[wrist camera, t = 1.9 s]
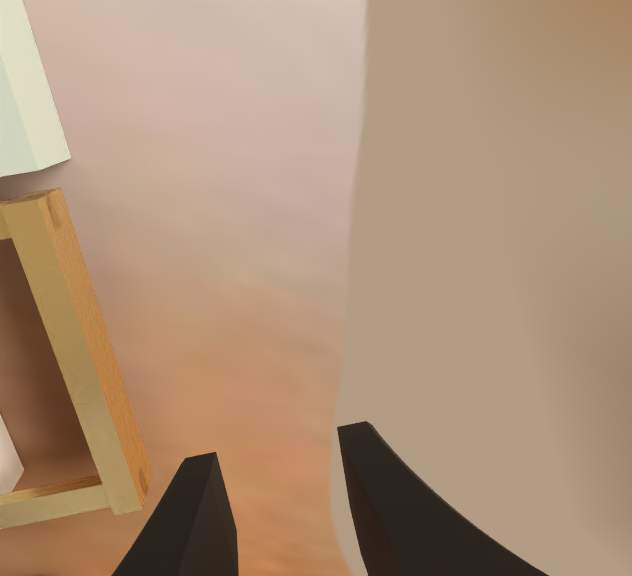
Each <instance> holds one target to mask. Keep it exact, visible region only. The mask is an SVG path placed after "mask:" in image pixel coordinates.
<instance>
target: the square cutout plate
mask: <svg viewBox="0 0 632 576" xmlns="http://www.w3.org/2000/svg"><path fill="white" fill-rule="evenodd" d="M68 159H71V156H70V153H69V149H68V146H67V143H66V140H65V137H64V133H63V130H62V127H61V124H60V120H59V117H58V114H57V111H56V107H55V104H54V101H53V98H52V94H51V91H50V88H49V85H48V81H47V78H46V75H45V72H44V69H43V65H42V62H41V59H40V56H39V52H38V49H37V46H36V43H35V39H34V36H33V33H32V30H31V26H30V23H29V20H28V17H27V13H26V10H25V7H24V4H23V1H22V0H0V177H2V176H8V175H14V174H20V173H26V172H32V171H38V170H41V169H44V168H47V167H49V166H52V165H55V164H57V163H60V162H63V161H65V160H68Z"/></svg>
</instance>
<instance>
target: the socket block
mask: <svg viewBox="0 0 632 576" xmlns="http://www.w3.org/2000/svg"><path fill="white" fill-rule="evenodd" d="M23 472H24V468H23V466H22V464H21V461H20V459H19V457H18V454H17V452H16V450H15V447H14V445H13V443H12V440H11V438H10V436H9V433H8V431H7V429H6V426H5V424H4V422H3V419H2V417H1V415H0V495H1V494H6V493H11V492H12V490H13V489H14V487H15V485H16V484H17V482H18V480H19V478H20V477H21V475H22V473H23Z"/></svg>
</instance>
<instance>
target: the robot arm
mask: <svg viewBox="0 0 632 576" xmlns="http://www.w3.org/2000/svg"><path fill="white" fill-rule="evenodd" d="M337 430H338V435H339V442H340V448H341V455H342V461H343V467H344V473H345V479H346V486H347V492H348V498H349V504H350V509H351V513H352V518H353V522H354V526H355V530H356V535H357V539H358V543H359V547H360V551H361V555H362V558H363V561H364V564H365V567H366V570H367V573H368V576H549V575H547V574H545V573H544V572H542V571H540V570H539V569H537V568H535V567H533V566H532V565H530V564H529V563H527V562H526V561H524V560H523V559H521V558H520V557H518V556H517V555H515V554H514V553H512V552H511V551H509V550H508V549H506V548H505V547H503V546H502V545H500V544H499V543H498V542H496V541H495V540H494V539H492V538H491V537H489V536H488V535H487V534H485V533H484V532H483V531H481V530H480V529H478V528H477V527H476V526H474V525H473V524H472V523H471V522H470V521H468V520H467V519H466V518H465V517H463V516H462V515H461V514H460V513H458V512H457V511H456V510H455V509H454V508H452V507H451V506H450V505H449V504H448V503H447V502H446V501H444V500H443V499H442V498H441V497H440V496H439V495H438V494H436V493H435V492H434V491H433V490H432V489H431V488H430V487H429V486H428V485H427V484H426V483H425V482H424V481H423V480H421V479H420V478H419V477H418V476H417V475H416V474H415V473H414V472H413V471H412V470H411V469H410V468H409V467H408V466H407V465H406V464H405V463H404V462H403V461H402V460H401V459H400V458H399V457H398V455H397V454H396V453H395V452H394V451H393V450H392V449H391V448H390V446H389V445H388V444H387V443H386V442H385V441H384V440H383V438H382V437H381V436H380V435H379V434H378V432H377V431H376V430H375V428H374V427H373V425H371V424H370V423H368V422H367V421H365V422H360V423H355V424H350V425H346V426H340V427H337ZM112 576H239V575H238V550H237V530H236V526H235V522H234V519H233V515H232V511H231V507H230V503H229V500H228V496H227V492H226V488H225V485H224V481H223V477H222V473H221V469H220V466H219V462H218V458H217V454H216V452H213V453H208V454H203V455H198V456H193V457H188V458H185V460H184V461H183V462H182V464H181V465H180V467H179V469H178V471H177V472H176V474H175V476H174V478H173V479H172V481H171V483H170V485H169V486H168V488H167V490H166V492H165V493H164V495H163V497H162V499H161V500H160V502H159V504H158V505H157V507H156V509H155V510H154V512H153V514H152V515H151V517H150V518H149V520H148V522H147V523H146V525H145V526H144V528H143V530H142V531H141V533H140V534H139V536H138V538H137V539H136V541H135V542H134V544H133V545H132V547H131V548H130V550H129V551H128V553H127V554H126V556H125V557H124V559H123V560H122V561H121V563H120V564H119V566H118V567H117V569H116V570H115V571H114V573H113V574H112Z"/></svg>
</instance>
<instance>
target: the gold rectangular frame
mask: <svg viewBox="0 0 632 576" xmlns="http://www.w3.org/2000/svg"><path fill="white" fill-rule="evenodd" d="M8 238H12V239H13V242H14V245H15V247H16V250H17V253H18V256H19V258H20V261H21V264H22V266H23V269H24V272H25V275H26V277H27V280H28V283H29V285H30V288H31V291H32V294H33V296H34V299H35V302H36V305H37V307H38V310H39V313H40V315H41V318H42V321H43V324H44V326H45V329H46V332H47V334H48V337H49V340H50V343H51V345H52V348H53V351H54V353H55V356H56V359H57V362H58V364H59V367H60V370H61V373H62V375H63V378H64V381H65V383H66V386H67V389H68V392H69V394H70V397H71V400H72V402H73V405H74V408H75V411H76V413H77V416H78V419H79V422H80V424H81V427H82V430H83V432H84V435H85V438H86V441H87V443H88V446H89V449H90V451H91V454H92V457H93V460H94V462H95V465H96V468H97V471H98V473H99V475H94V476H90V477H85V478H80V479H75V480H70V481H65V482H60V483H55V484H50V485H45V486H41V487H36V488H31V489H26V490H21V491H16V492H11V493H6V494H1V495H0V530H1V529H6V528H11V527H16V526H20V525H25V524H30V523H35V522H40V521H44V520H49V519H54V518H59V517H64V516H68V515H73V514H78V513H83V512H88V511H92V510H97V509H102V508H107V507H111V509H112V511H113V514H114V516H115V515H120V514H124V513H129V512H134V511H139V510H143V507H144V503H145V499H146V495H147V491H148V487H149V483H150V479H151V474H152V470H151V466H150V463H149V460H148V457H147V454H146V451H145V448H144V445H143V442H142V439H141V435H140V432H139V429H138V426H137V423H136V420H135V417H134V414H133V411H132V407H131V404H130V401H129V398H128V395H127V392H126V389H125V386H124V383H123V380H122V376H121V373H120V370H119V367H118V364H117V361H116V358H115V355H114V352H113V348H112V345H111V342H110V339H109V336H108V333H107V330H106V327H105V324H104V321H103V317H102V314H101V311H100V308H99V305H98V302H97V299H96V296H95V293H94V289H93V286H92V283H91V280H90V277H89V274H88V271H87V268H86V265H85V262H84V258H83V255H82V252H81V249H80V246H79V243H78V240H77V237H76V234H75V230H74V227H73V224H72V221H71V218H70V215H69V212H68V209H67V206H66V203H65V199H64V196H63V193H62V190H61V188H56V189H50V190H44V191H38V192H32V193H27V194H25V195H23V196H21V197H19V198H16V199H11V200H5V201H0V240H2V239H8Z"/></svg>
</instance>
